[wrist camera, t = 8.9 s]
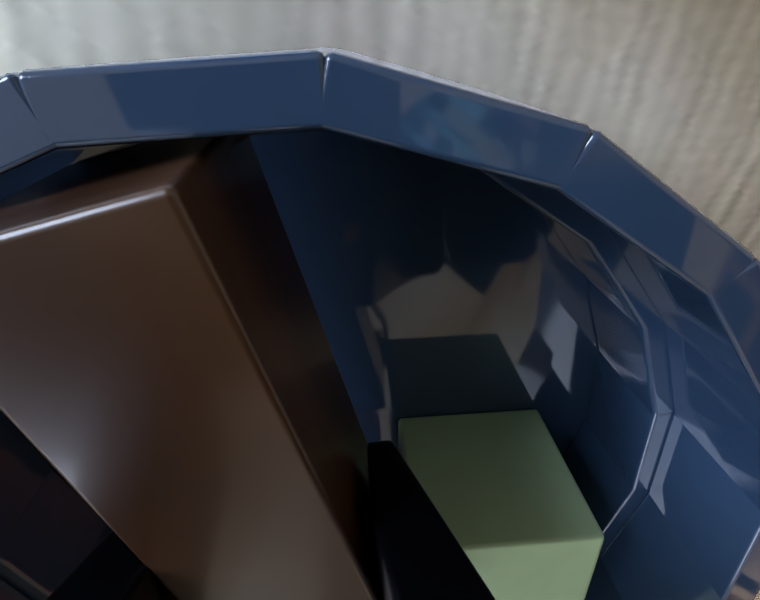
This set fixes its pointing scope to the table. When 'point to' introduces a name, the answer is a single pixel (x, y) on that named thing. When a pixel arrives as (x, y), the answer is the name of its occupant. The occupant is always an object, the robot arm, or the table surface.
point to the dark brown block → (185, 373)
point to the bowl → (453, 292)
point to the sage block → (506, 501)
